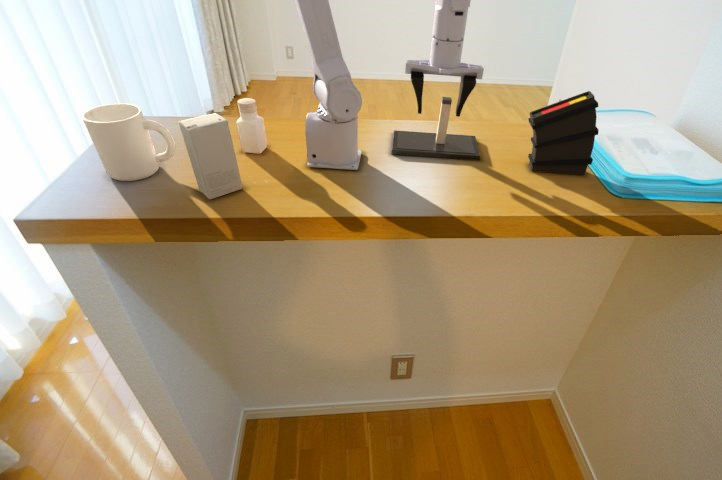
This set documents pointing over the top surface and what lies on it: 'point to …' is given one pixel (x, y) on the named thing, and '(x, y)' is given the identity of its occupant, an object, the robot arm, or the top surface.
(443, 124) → the cream rectangular bar
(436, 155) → the tray
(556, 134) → the magazine
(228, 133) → the cosmetic box
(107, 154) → the mug
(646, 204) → the top surface
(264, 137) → the pepper shaker
